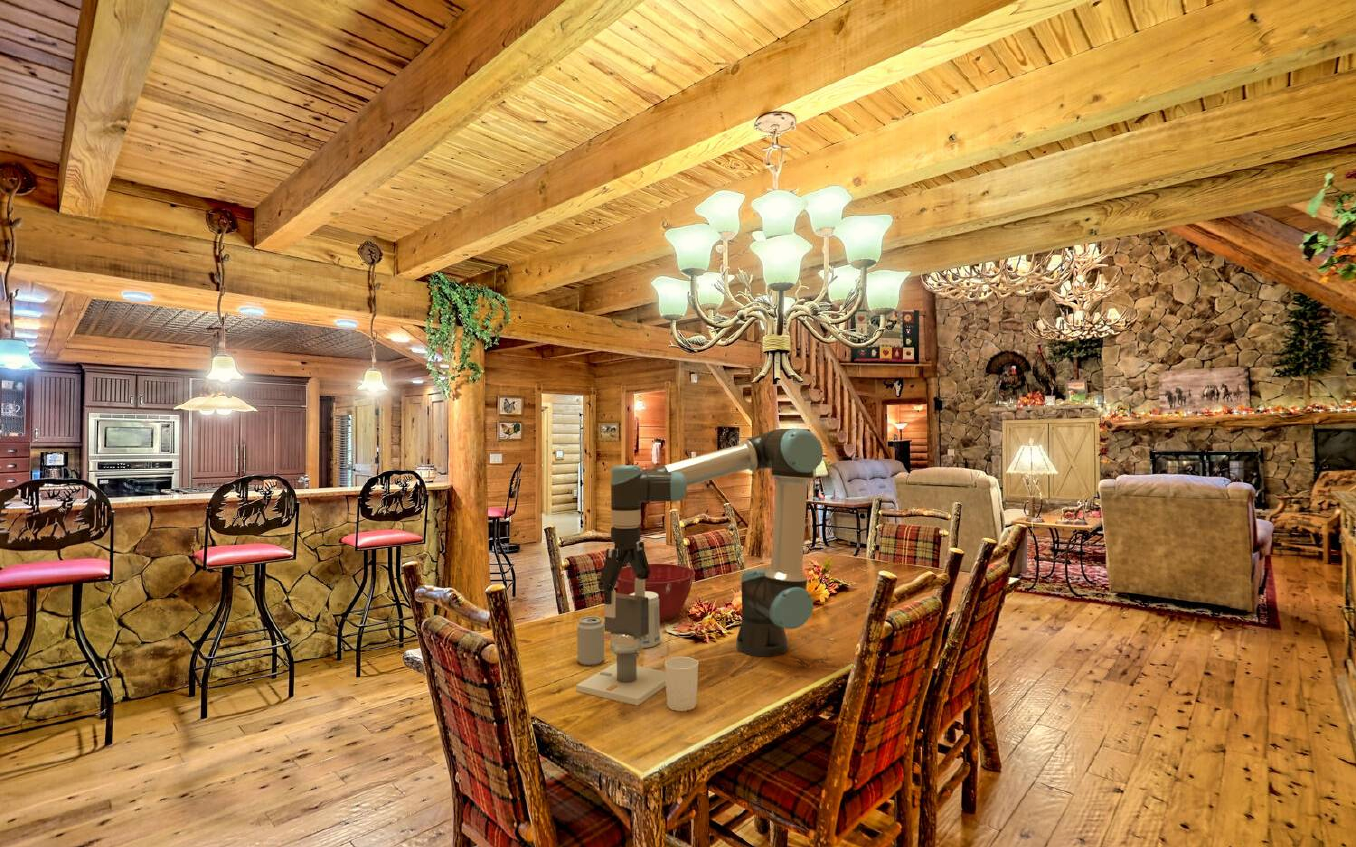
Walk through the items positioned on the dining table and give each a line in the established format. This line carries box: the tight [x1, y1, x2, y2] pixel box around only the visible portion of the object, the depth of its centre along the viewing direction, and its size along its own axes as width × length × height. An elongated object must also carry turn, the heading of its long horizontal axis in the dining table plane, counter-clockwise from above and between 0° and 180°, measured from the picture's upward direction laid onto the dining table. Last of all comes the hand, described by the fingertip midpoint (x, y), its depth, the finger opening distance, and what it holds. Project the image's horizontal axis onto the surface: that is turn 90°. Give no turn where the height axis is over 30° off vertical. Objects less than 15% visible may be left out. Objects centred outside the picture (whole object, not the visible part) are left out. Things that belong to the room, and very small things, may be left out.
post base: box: [575, 652, 666, 707], centre depth 160 cm, size 18×18×9 cm
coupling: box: [603, 592, 649, 654], centre depth 160 cm, size 12×8×13 cm, turn 61°
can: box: [576, 615, 605, 667], centre depth 176 cm, size 8×8×12 cm
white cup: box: [664, 656, 699, 712], centre depth 148 cm, size 8×8×10 cm
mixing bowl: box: [615, 563, 696, 622], centre depth 220 cm, size 28×28×16 cm
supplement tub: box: [630, 591, 661, 649], centre depth 192 cm, size 10×10×15 cm
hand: (625, 610), depth 160 cm, fingers open, 13 cm apart
